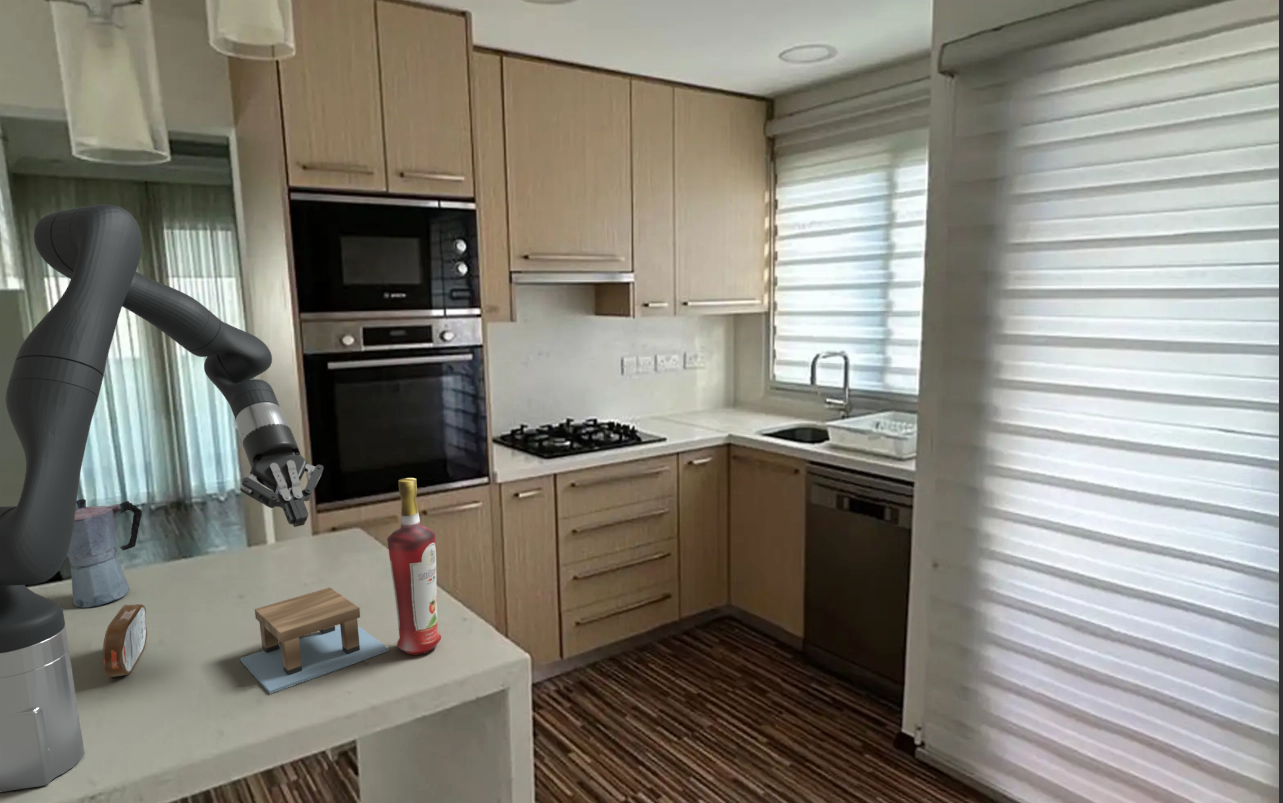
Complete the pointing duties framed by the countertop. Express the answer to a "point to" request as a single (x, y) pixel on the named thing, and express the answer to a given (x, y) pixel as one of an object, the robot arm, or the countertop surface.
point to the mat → (311, 659)
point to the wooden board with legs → (307, 624)
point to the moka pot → (98, 554)
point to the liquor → (414, 576)
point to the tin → (124, 640)
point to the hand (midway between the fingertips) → (300, 523)
